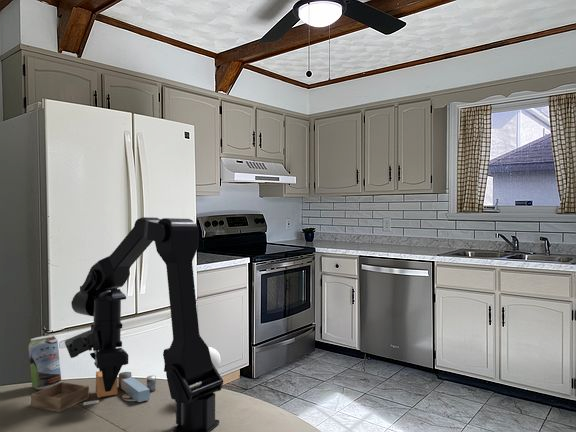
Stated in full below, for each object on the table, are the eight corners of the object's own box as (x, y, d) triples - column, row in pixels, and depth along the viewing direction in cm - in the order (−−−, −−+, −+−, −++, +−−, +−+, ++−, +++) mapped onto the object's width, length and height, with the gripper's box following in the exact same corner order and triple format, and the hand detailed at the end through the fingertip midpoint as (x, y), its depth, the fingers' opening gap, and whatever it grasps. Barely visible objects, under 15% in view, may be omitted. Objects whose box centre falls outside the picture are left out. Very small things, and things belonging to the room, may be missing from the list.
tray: (88, 398, 97) (88, 386, 97) (59, 412, 90) (59, 399, 90) (61, 393, 100) (61, 382, 100) (30, 406, 92) (31, 394, 92)
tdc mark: (98, 400, 96) (98, 400, 96) (98, 402, 95) (98, 401, 95) (83, 403, 94) (83, 402, 94) (83, 405, 93) (83, 404, 93)
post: (157, 389, 102) (157, 376, 102) (152, 392, 101) (152, 378, 101) (150, 388, 103) (150, 375, 103) (144, 391, 101) (144, 377, 101)
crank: (151, 399, 96) (151, 385, 96) (136, 402, 94) (137, 389, 94) (129, 383, 106) (129, 370, 106) (116, 386, 104) (116, 373, 104)
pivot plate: (155, 393, 100) (155, 392, 100) (138, 403, 94) (138, 401, 94) (134, 389, 102) (134, 388, 102) (115, 399, 97) (115, 398, 97)
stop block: (117, 394, 99) (117, 373, 99) (97, 397, 97) (98, 376, 97) (114, 388, 102) (114, 369, 102) (95, 391, 100) (95, 371, 100)
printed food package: (48, 393, 100) (49, 340, 100) (20, 390, 102) (21, 338, 102) (67, 383, 106) (68, 333, 107) (41, 381, 108) (41, 332, 108)
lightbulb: (219, 390, 102) (219, 342, 102) (221, 400, 96) (222, 350, 96) (192, 393, 100) (192, 344, 100) (193, 403, 94) (193, 351, 95)
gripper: (64, 315, 104) (63, 382, 104) (70, 331, 88) (69, 410, 87) (115, 310, 110) (114, 374, 109) (129, 325, 94) (128, 399, 93)
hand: (106, 388), depth 100 cm, fingers closed on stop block, 4 cm apart
